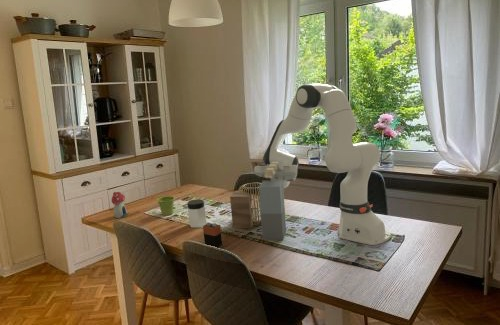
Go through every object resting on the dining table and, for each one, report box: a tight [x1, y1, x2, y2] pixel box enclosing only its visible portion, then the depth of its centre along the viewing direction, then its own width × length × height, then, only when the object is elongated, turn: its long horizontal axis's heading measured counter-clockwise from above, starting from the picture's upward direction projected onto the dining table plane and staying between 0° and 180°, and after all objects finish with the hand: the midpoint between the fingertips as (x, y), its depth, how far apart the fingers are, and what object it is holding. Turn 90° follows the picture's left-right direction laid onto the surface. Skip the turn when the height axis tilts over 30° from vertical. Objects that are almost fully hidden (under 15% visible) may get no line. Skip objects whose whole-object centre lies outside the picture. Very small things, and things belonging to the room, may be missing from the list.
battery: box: [202, 222, 223, 248], centre depth 166 cm, size 4×7×10 cm, turn 55°
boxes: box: [229, 180, 287, 241], centre depth 179 cm, size 23×26×24 cm
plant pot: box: [156, 195, 176, 216], centre depth 212 cm, size 9×9×9 cm
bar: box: [264, 162, 278, 179], centre depth 171 cm, size 18×3×2 cm, turn 167°
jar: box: [186, 198, 208, 229], centre depth 192 cm, size 9×8×12 cm
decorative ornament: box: [111, 191, 129, 219], centre depth 213 cm, size 9×6×15 cm
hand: (273, 165), depth 175 cm, fingers closed on bar, 3 cm apart
